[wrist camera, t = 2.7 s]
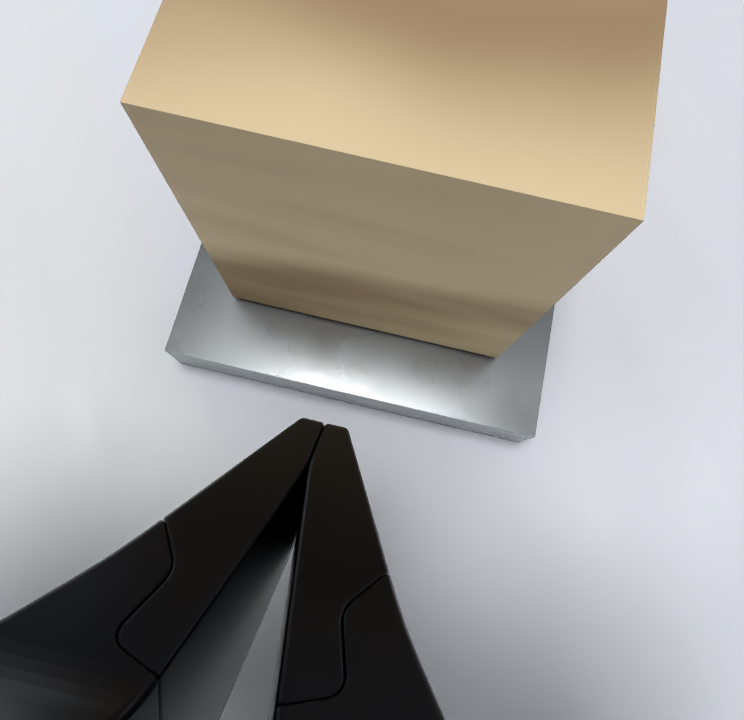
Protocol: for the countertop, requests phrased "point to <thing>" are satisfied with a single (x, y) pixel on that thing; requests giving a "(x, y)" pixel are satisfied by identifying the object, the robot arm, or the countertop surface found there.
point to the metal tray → (361, 360)
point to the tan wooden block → (404, 151)
